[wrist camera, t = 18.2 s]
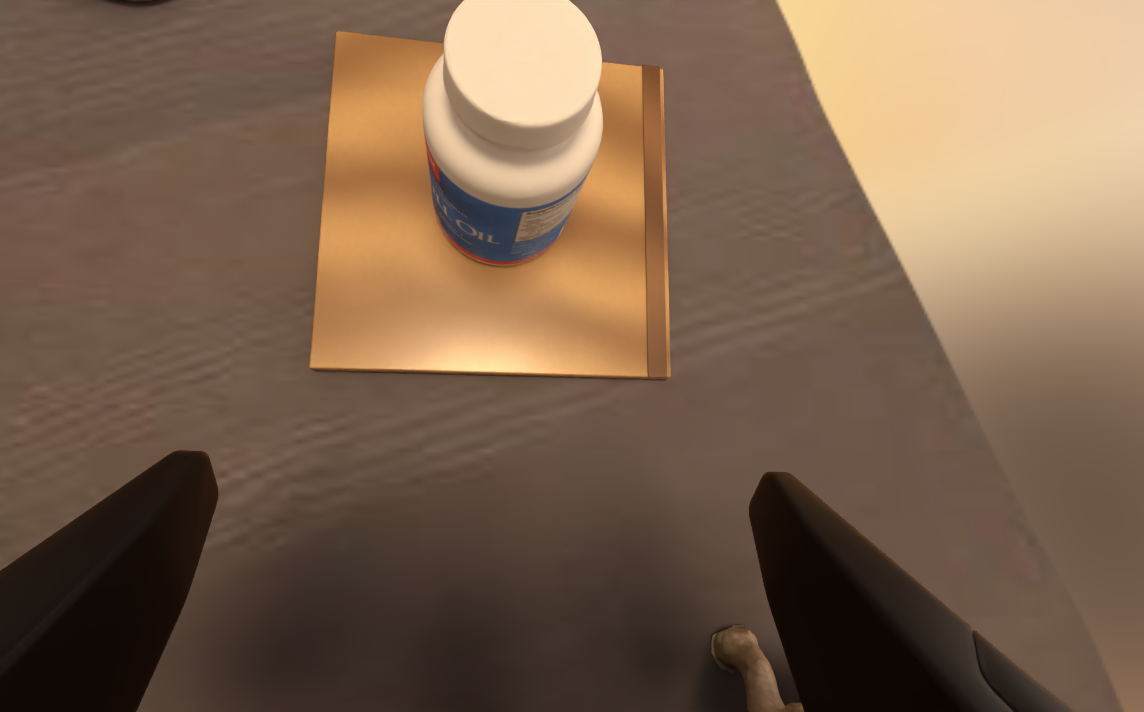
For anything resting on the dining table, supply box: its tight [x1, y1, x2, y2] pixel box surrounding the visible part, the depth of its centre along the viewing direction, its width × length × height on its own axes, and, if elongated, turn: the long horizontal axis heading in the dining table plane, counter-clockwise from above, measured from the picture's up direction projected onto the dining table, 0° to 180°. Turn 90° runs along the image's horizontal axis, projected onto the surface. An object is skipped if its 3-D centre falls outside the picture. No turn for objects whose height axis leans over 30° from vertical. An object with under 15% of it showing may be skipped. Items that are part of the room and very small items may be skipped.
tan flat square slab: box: [309, 31, 671, 379], centre depth 24 cm, size 14×14×1 cm
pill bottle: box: [422, 0, 603, 266], centre depth 19 cm, size 6×5×10 cm
